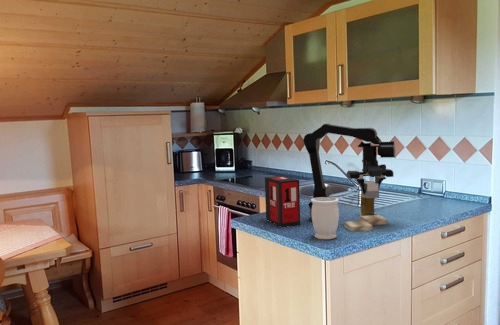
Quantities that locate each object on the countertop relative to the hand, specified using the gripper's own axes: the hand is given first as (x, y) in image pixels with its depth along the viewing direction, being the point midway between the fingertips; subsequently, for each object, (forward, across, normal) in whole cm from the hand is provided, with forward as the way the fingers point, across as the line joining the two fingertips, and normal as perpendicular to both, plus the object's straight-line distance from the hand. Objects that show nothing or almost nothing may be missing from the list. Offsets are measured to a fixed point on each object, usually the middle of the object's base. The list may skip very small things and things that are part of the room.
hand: (370, 193), depth 189 cm
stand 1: (+13, -8, -6) cm, 16 cm away
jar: (+13, -24, -16) cm, 32 cm away
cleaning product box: (+13, -37, +10) cm, 40 cm away
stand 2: (+13, +2, +2) cm, 13 cm away
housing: (+1, 0, 0) cm, 1 cm away
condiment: (+13, +5, +16) cm, 21 cm away
